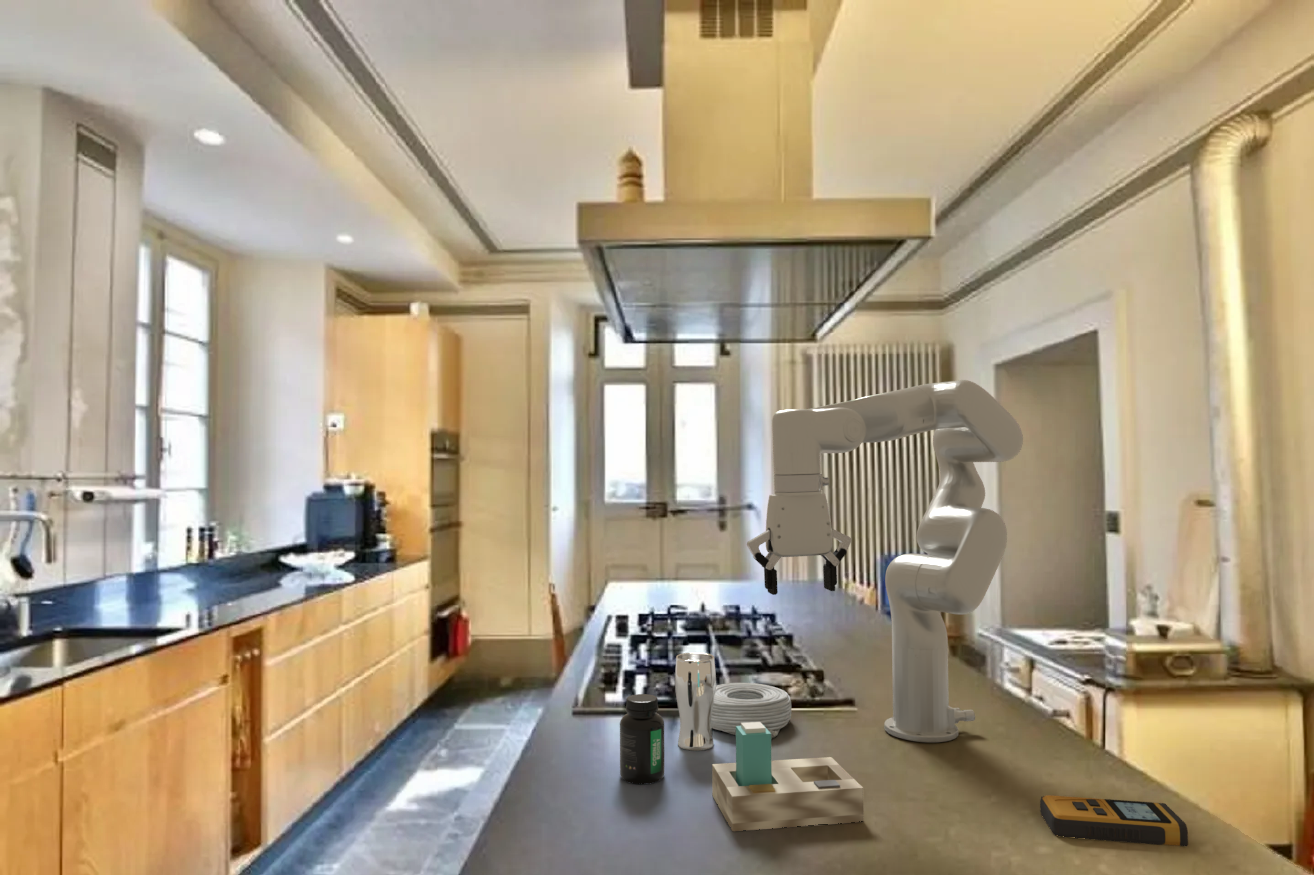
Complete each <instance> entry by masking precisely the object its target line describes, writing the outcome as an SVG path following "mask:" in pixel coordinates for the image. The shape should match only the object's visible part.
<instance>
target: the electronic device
mask: <svg viewBox="0 0 1314 875" xmlns="http://www.w3.org/2000/svg"><path fill="white" fill-rule="evenodd" d="M1039 809H1040V810H1039V811H1040V816H1041V817H1042V816H1043V817H1042V818H1043V820H1044V819H1045V820H1044V821H1046V822H1045V824H1046V825H1047V824H1048V825H1047V826H1048V828H1049V827H1050V828H1049V830H1050V829H1051V830H1050V831H1051V833H1052V835H1054V836H1056V835H1058V836H1064V837H1063V838H1065V837H1075V838H1074V839H1078V838H1085V839H1084V840H1091V839H1095V840H1094V841H1104V840H1106V841H1107V842H1120V843H1132V844H1133V843H1134V844H1145V845H1159V846H1161V845H1164V846H1177V847H1178V846H1180V847H1188V845H1189V832H1188V830H1189V829H1188V826H1187V824H1186V822H1184V820H1183V819H1182V818H1181V817H1179V815H1178V814H1176V813H1175V812H1174V810H1172V808H1170V806H1168V804H1166V803H1163V802H1151V801H1137V800H1124V799H1110V798H1109V799H1108V798H1097V797H1096V798H1093V797H1083V796H1082V797H1081V796H1080V797H1078V796H1066V795H1064V796H1063V795H1049V794H1046V795H1043V796H1041V797H1040V799H1039ZM1058 836H1057V837H1058Z"/></svg>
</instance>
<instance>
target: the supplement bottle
mask: <svg viewBox="0 0 1314 875" xmlns="http://www.w3.org/2000/svg"><path fill="white" fill-rule="evenodd" d="M658 702H659V701H658V697H657V696H656V695H653V694H649V693H648V694H645V693H641V694H640V693H639V694H638V693H637V694H632V695H629V696H627V697H626V701H625V704H626V706H625V712H627V713H626V714H624V715H623V716H622V717H621V719H620V722H619V773H620V774H619V775H620V777H621V779H622V780H623V781H624V782H626V783H629V784H632V785H651V784H655V783H657V782H660V781H661V780H662V779H663V778H664V777H665V721H664V718H663V717H662V715H660V714H659V713H657V712H658V711H659V706H658ZM650 783H651V784H650Z"/></svg>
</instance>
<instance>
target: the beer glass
mask: <svg viewBox="0 0 1314 875" xmlns="http://www.w3.org/2000/svg"><path fill="white" fill-rule="evenodd" d="M675 657H676V660H675V672H674V673H675V675H674V677H675V678H674V681H675V682H674V685H675V687H674V688H675V696H676V702H677V703H676V704H677V708H678V715H679V722H680V723H679V724H680V725H679V734H678V738H677V739H678V740H677V745H678V747H679V748H680V749H683V750H686V751H693V752H697V751H706V750H710V749H711V748H713V747H714V737H713V732H712V728H711V717H712V710H713V704H714V698H715V689H716V685H717V683H716V682H717V680H716V676H717V675H716V665H715V664H716V663H715V656H714V655H713V654H711V653H705V652H696V651H695V652H685V653H679V654H677V655H676V656H675Z"/></svg>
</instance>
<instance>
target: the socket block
mask: <svg viewBox="0 0 1314 875" xmlns="http://www.w3.org/2000/svg"><path fill="white" fill-rule="evenodd" d="M711 766H712V767H711V770H712V771H711V772H712V773H711V774H712V775H711V777H712V778H711V782H712V783H711V784H712V788H711V789H712V792H711V793H712V794H711V795H712V797H713V799H714V801H715V802H716V805H717V804H718V805H717V807H718V808H719V810H720V812H721V814H722V815H723V817H724V819H725V820H726V823H727V822H728V823H727V824H728V826H729V828H730V827H731V828H730V830H731V831H732V832H742V831H743V830H746V831H756V830H757V831H758V830H759V829H760V830H770V829H771V830H772V828H773V829H783V828H784V827H787V828H798V827H797V826H801V827H809V826H808V825H814V826H819V825H818V824H828V825H840V823H842V824H852V823H851V822H855V823H862V822H861V821H864V820H865V819H864V817H865V816H864V814H865V813H864V787H863V786H862V785H861V784H860V783H859V782H858V781H857V780H856V779H855V778H854V777H853V776H851V775H850V774H849V772H847V771H846V770H845V769H844V768H843V767H842V766H841V765H840V764H839V763H838V762H837V761H836V760H835V759H834V758H833V757H831V756H828V757H827V756H826V757H825V756H824V757H823V756H822V757H811V758H810V757H809V758H795V759H794V758H793V759H792V758H791V759H776V760H771V772H772V784H761V785H749V786H738V784H737V783H736V762H727V763H724V762H723V763H713V764H711ZM859 821H860V822H859ZM864 822H865V821H864ZM838 823H839V824H838ZM815 824H816V825H815ZM805 825H806V826H805ZM782 827H783V828H782ZM784 829H785V828H784ZM743 832H744V831H743Z"/></svg>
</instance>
